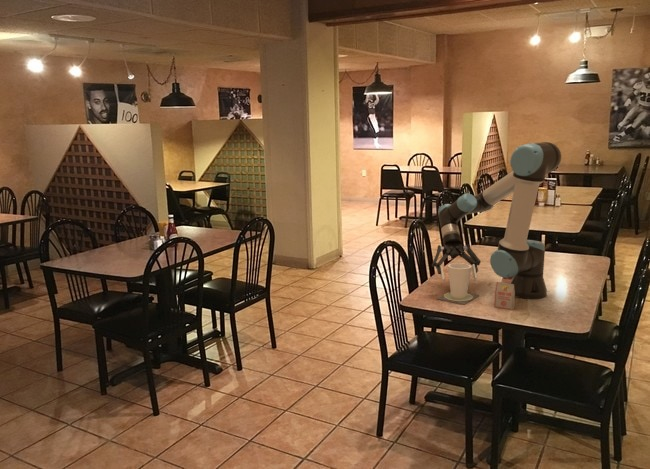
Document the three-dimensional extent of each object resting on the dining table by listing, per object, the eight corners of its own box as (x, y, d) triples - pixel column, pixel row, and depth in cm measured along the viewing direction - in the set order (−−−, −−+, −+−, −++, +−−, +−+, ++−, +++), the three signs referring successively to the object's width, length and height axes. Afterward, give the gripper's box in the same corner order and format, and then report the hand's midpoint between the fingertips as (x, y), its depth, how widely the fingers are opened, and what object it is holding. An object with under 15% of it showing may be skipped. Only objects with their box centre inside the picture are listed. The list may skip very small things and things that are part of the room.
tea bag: (497, 304, 229) (498, 280, 227) (514, 307, 225) (515, 283, 223) (494, 307, 226) (495, 283, 224) (511, 310, 222) (512, 285, 220)
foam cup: (445, 298, 236) (446, 267, 233) (449, 291, 244) (449, 262, 242) (468, 300, 232) (469, 269, 230) (471, 293, 241) (472, 264, 238)
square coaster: (478, 296, 240) (479, 294, 240) (463, 304, 229) (463, 303, 229) (453, 291, 247) (453, 289, 247) (437, 299, 237) (437, 297, 237)
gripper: (477, 240, 250) (487, 283, 239) (421, 242, 250) (427, 285, 238) (481, 231, 244) (491, 274, 232) (423, 232, 244) (430, 276, 232)
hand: (459, 279), depth 235 cm, fingers open, 13 cm apart
